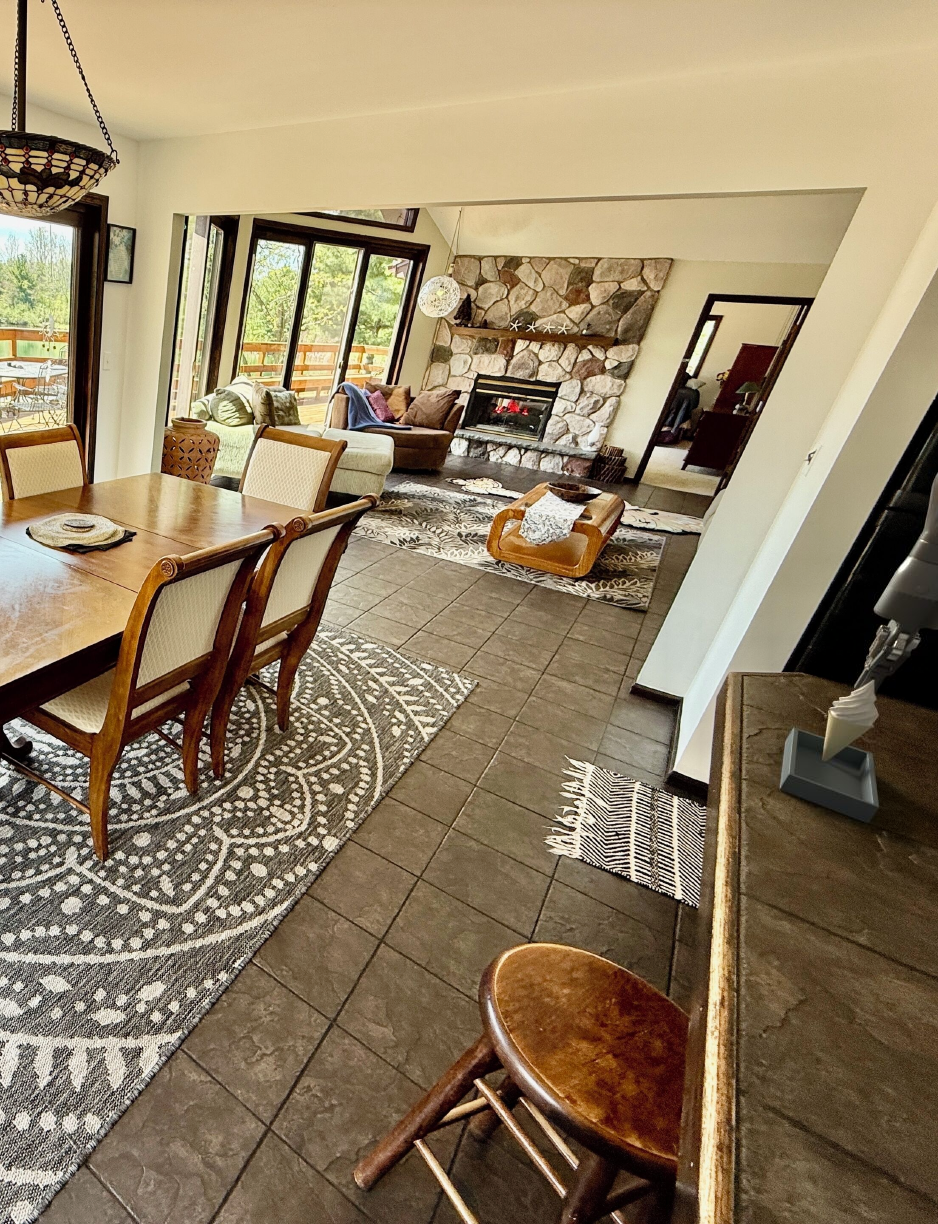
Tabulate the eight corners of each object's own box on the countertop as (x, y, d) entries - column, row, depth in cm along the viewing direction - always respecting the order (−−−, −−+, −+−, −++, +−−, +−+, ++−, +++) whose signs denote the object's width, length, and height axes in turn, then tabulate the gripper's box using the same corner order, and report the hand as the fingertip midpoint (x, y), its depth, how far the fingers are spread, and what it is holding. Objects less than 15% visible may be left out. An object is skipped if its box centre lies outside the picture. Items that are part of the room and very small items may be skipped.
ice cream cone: (815, 749, 105) (864, 671, 99) (854, 768, 101) (907, 687, 95) (794, 752, 104) (842, 672, 98) (832, 771, 100) (885, 689, 94)
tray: (785, 741, 108) (793, 727, 107) (862, 768, 102) (872, 753, 101) (779, 789, 95) (788, 773, 94) (868, 823, 89) (879, 807, 88)
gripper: (971, 609, 87) (900, 716, 94) (959, 590, 96) (894, 689, 103) (891, 592, 92) (829, 694, 99) (886, 575, 101) (829, 671, 107)
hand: (862, 692), depth 101 cm, fingers closed
